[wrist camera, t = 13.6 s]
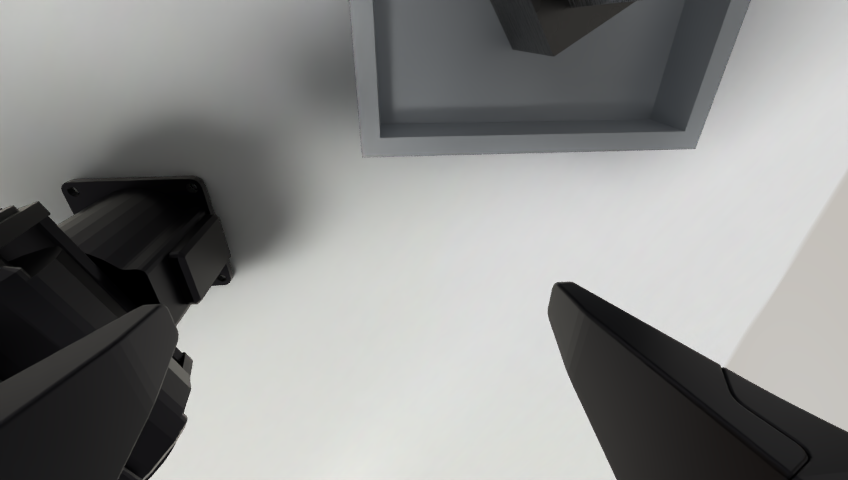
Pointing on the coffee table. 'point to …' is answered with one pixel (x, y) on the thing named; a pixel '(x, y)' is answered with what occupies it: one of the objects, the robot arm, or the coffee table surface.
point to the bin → (536, 79)
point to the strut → (552, 21)
